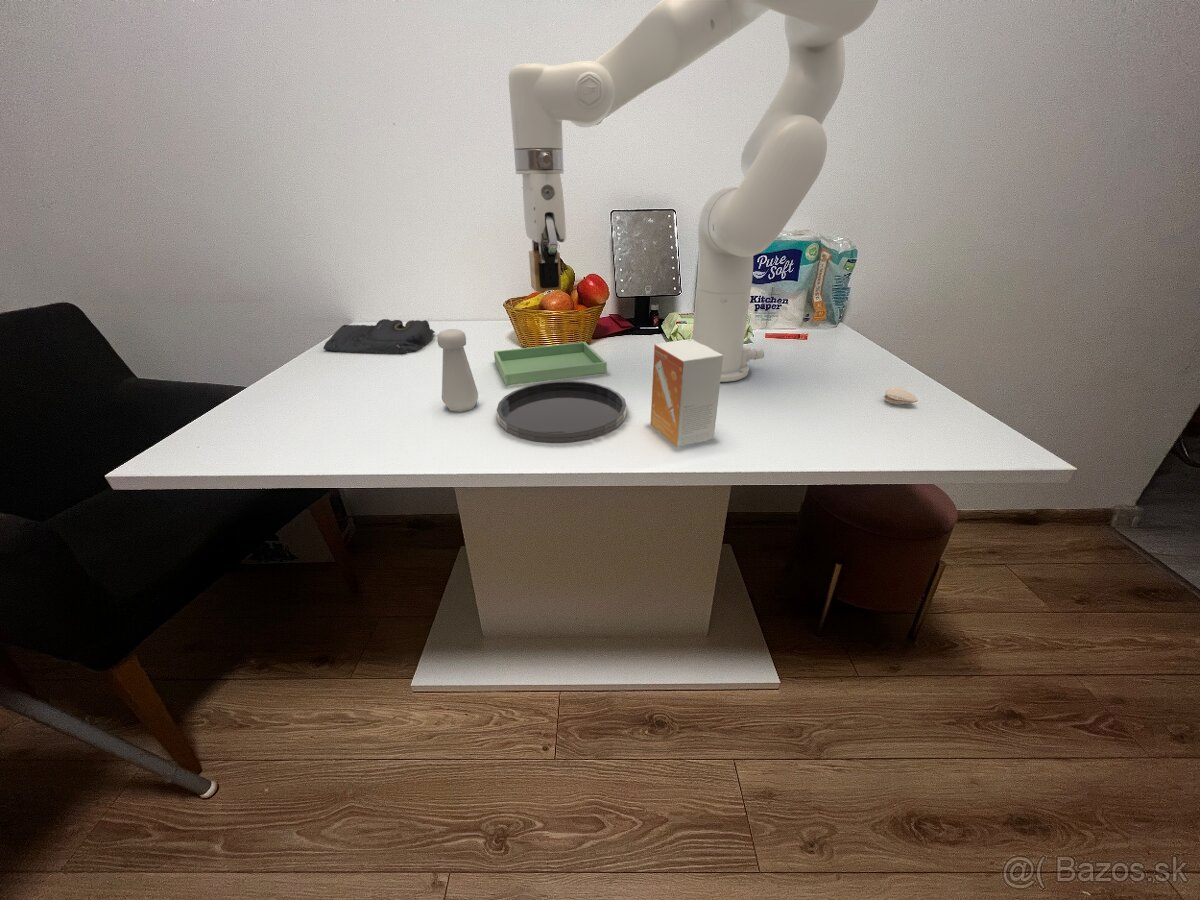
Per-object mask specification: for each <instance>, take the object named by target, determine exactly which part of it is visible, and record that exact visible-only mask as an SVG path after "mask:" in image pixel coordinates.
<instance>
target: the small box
mask: <svg viewBox="0 0 1200 900" xmlns="http://www.w3.org/2000/svg"><path fill="white" fill-rule="evenodd" d="M653 346H654V348H653V366H652V367H653V368H652V386H651V387H652V390H651V404H650V405H651V408H650V426H652V427H653V428H654V429H656V430H657V431H658V432H659V433H661V434H662V435H663V436H664V437H665V438H666V439H668V440H669V441H670V442H671V443H672V444H673V445H674V446H675V447H683V446H687V445H691V444H696V443H700V442H704V441H705V442H706V441H709V440H714V439H715V431H716V423H717V415H718V414H717V413H718V404H719V395H720V386H721V382H720V379H721V370H722V361H723V355H722V354H720V353H718V352H716V351H714V350H712V349H711V348H709V347H707V346H705V345H702V344H700V343H698V342H696V341H694V340H692V338H689V339H680V340H679V339H678V340H671V341H666V342H660V343H655V344H654V345H653Z"/></svg>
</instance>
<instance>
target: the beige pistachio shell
mask: <svg viewBox="0 0 1200 900" xmlns="http://www.w3.org/2000/svg"><path fill="white" fill-rule="evenodd" d="M884 393H885V395H884V396H883V397H884V400H885V401H886V402H888V403H889V404H892V405H907V404H908V405H909V404H913V403H917V402H919V400H918V398H917V397H916V396H915V395H914V394H913V393H912V392H911V391H909V390H907V389H905V388H903V387H899V386H892V387H889V388H887V389H886V390H885V391H884Z"/></svg>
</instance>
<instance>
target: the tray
mask: <svg viewBox="0 0 1200 900" xmlns="http://www.w3.org/2000/svg"><path fill="white" fill-rule="evenodd" d="M493 356H494V363H495V366H496V369H497V370H498V372H499V374H500V376H501V377H502V380H503V382H504V384H505V386H514V385H521V384H528V383H529V384H530V383H537V382H546V381H553V380H561V379H570V378H577V377H585V376H595V375H601V374H607V370H608V369H607V368H608V367H607V365H608V364H607V361H605V359H603V358H602V356H601V355H599V353H598V352H596V351H595V350H594V349H593V348H592V347H591V346H590V345H589V344H588V343H587V342H586V341H579V342H569V343H561V344H559V343H558V344H549V345H541V346H533V347H532V346H530V347H522V348H513V349H503V350H493Z"/></svg>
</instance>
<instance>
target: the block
mask: <svg viewBox="0 0 1200 900" xmlns="http://www.w3.org/2000/svg"><path fill="white" fill-rule="evenodd" d="M544 251H545V250H544ZM557 255H558V273H559V286H558V287H555V288H541V287H540V280H539V264H538V263H541V262H540V254H539V251H532V250H529V251H528V259H529V273H530V286H531V288H532V289H533V290H534V291H535V292H538V293H539V292H548V291H549V292H550V291H561V290H562V276H561V275H562V274H561V254H560V252H559V251H557Z"/></svg>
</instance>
